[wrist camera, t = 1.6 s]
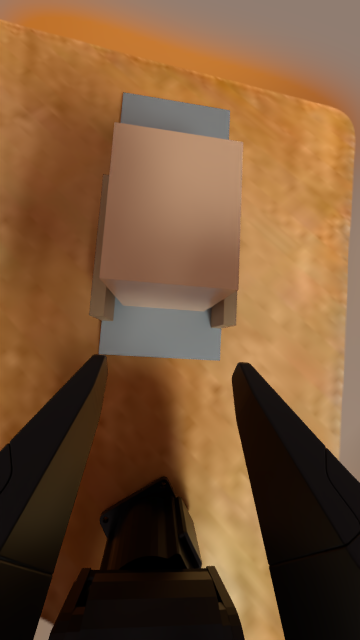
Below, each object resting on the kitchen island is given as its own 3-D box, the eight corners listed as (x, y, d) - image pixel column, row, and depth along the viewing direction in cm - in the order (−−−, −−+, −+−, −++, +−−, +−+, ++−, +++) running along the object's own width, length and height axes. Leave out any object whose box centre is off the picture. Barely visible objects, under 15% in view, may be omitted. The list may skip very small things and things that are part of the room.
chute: (216, 359, 22) (234, 364, 17) (101, 353, 21) (84, 357, 16) (226, 121, 25) (244, 64, 20) (125, 104, 24) (116, 39, 19)
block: (203, 311, 22) (238, 290, 13) (123, 305, 21) (99, 277, 12) (208, 221, 22) (243, 142, 14) (131, 212, 22) (114, 122, 13)
